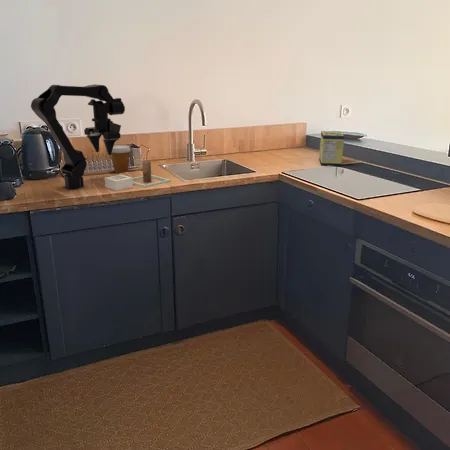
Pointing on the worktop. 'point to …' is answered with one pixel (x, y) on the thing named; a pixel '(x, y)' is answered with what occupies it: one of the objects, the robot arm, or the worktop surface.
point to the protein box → (331, 148)
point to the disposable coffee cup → (120, 158)
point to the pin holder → (118, 182)
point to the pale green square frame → (151, 183)
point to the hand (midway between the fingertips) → (103, 153)
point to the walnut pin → (146, 171)
